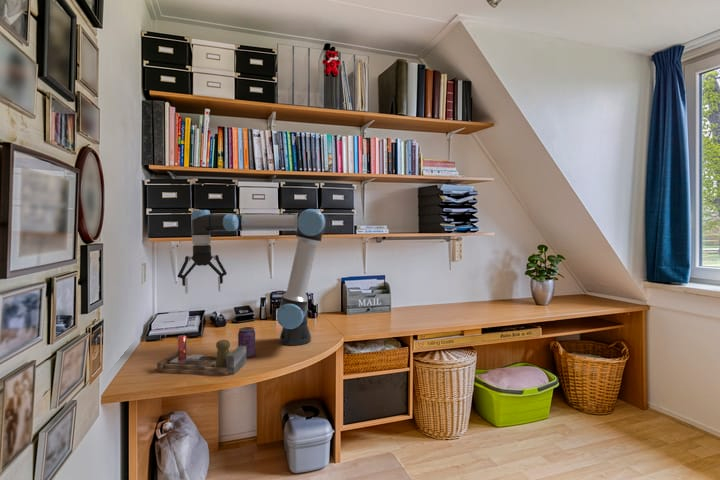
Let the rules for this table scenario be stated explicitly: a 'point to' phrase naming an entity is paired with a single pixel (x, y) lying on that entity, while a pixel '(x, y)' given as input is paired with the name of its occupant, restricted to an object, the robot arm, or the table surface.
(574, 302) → the table surface
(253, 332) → the beverage can
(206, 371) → the base
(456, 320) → the table surface
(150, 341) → the table surface
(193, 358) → the ram
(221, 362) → the cork
